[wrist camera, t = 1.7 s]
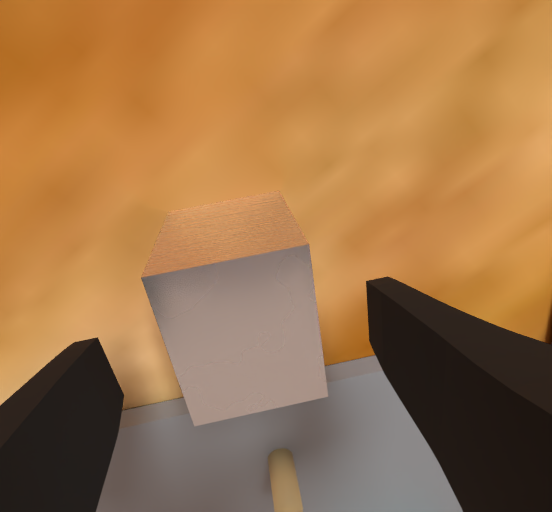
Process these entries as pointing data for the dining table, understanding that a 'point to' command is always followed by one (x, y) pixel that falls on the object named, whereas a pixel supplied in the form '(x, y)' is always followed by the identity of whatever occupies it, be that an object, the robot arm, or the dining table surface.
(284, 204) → the pinkish grey block
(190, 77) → the dining table surface
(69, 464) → the robot arm
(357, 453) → the base plate
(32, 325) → the dining table surface
